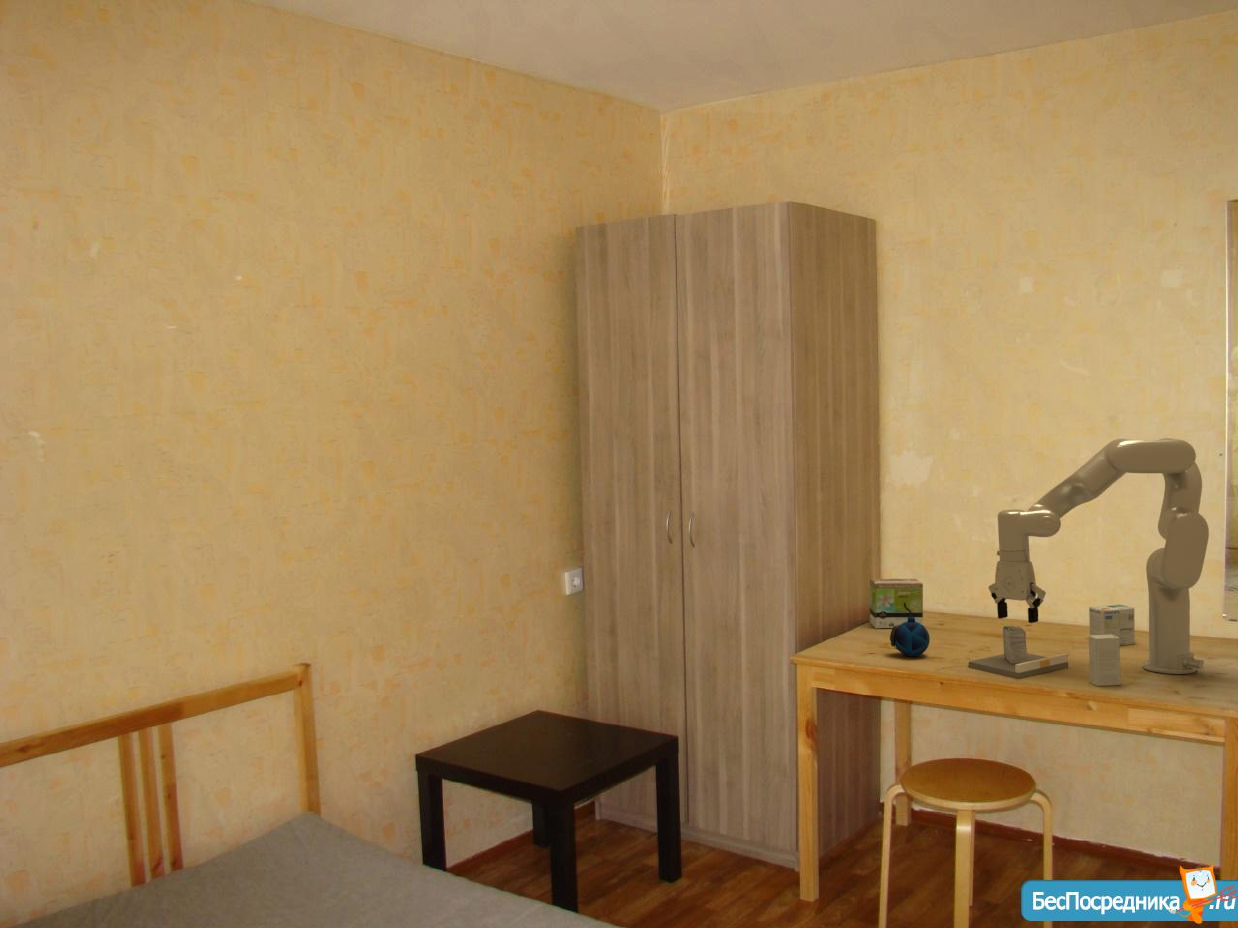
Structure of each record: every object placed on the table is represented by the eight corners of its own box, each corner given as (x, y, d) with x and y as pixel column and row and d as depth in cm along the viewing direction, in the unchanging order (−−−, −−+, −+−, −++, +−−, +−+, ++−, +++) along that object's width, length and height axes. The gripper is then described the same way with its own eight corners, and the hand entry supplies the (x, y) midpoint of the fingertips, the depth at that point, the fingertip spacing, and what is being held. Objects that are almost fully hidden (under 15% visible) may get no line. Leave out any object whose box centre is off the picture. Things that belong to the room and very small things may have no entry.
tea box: (875, 629, 342) (875, 583, 342) (869, 623, 352) (868, 578, 352) (923, 628, 342) (923, 582, 341) (916, 622, 352) (915, 577, 351)
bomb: (890, 651, 311) (889, 599, 311) (929, 652, 308) (928, 600, 308) (889, 659, 302) (888, 605, 301) (930, 660, 299) (929, 606, 298)
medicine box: (1027, 663, 285) (1026, 631, 285) (1009, 664, 286) (1008, 631, 285) (1020, 657, 293) (1019, 625, 293) (1003, 657, 294) (1002, 625, 293)
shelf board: (1070, 667, 286) (1070, 654, 286) (1020, 679, 276) (1020, 665, 276) (1017, 656, 301) (1017, 643, 300) (968, 667, 290) (968, 654, 290)
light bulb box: (1119, 639, 318) (1119, 603, 317) (1136, 644, 311) (1135, 607, 311) (1088, 642, 315) (1088, 606, 315) (1104, 647, 309) (1104, 610, 308)
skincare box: (1112, 681, 271) (1112, 633, 271) (1120, 685, 267) (1120, 637, 267) (1088, 682, 271) (1088, 634, 271) (1096, 686, 267) (1096, 638, 266)
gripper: (978, 555, 293) (982, 618, 294) (1033, 560, 279) (1036, 626, 279) (997, 552, 297) (1000, 614, 298) (1051, 556, 283) (1055, 621, 283)
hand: (1017, 619), depth 289 cm, fingers open, 9 cm apart
